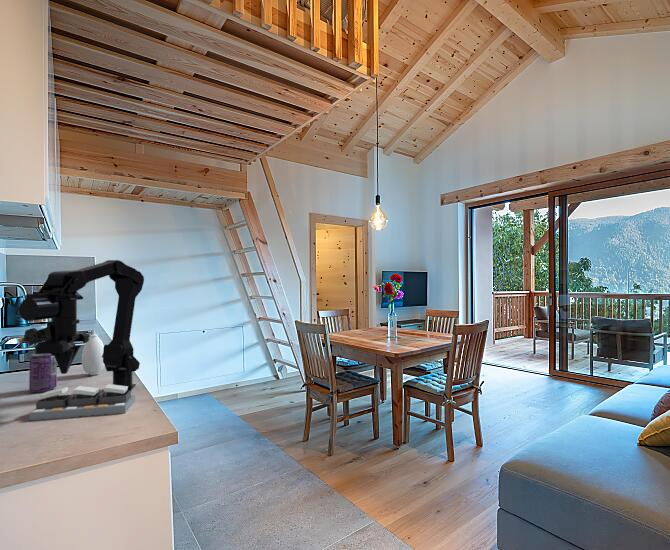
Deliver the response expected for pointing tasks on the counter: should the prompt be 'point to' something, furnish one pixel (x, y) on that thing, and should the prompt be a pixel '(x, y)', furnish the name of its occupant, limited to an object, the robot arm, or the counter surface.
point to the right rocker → (115, 388)
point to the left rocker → (54, 392)
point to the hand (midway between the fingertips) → (64, 373)
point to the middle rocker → (86, 390)
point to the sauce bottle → (93, 355)
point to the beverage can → (42, 372)
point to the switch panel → (82, 405)
